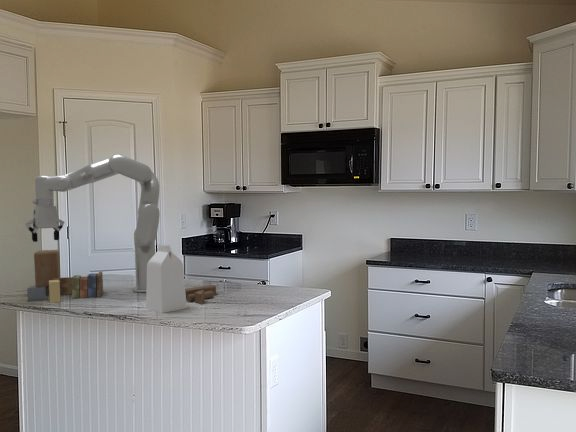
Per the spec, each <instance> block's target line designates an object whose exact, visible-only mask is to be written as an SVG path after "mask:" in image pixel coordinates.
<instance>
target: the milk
mask: <svg viewBox="0 0 576 432" xmlns="http://www.w3.org/2000/svg"><path fill="white" fill-rule="evenodd" d="M157 247H158V249H157V251H155V255H154V256H153V257H152V258H151V259H150V260H149V262H148V264H147V292H145V293H146V296H145V297H146V301H145V302H146V304H145V308H146V309H147V310H150V311H154V312H157V313H161V314H165V313H168V312H174V311H179V310H183V309H187V307H188V305H187V300H186V294H185V289H186V286H185V285H186V283H185V272H184V263H183V261H182V260H181V259H180V258H179V257H178V256H177V255H175V254H174V252H172V249H171V245H170V244H162V243H161V244H158V246H157Z"/></svg>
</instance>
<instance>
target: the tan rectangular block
mask: <svg viewBox="0 0 576 432" xmlns="http://www.w3.org/2000/svg"><path fill="white" fill-rule="evenodd" d="M49 302H50V304H55V303H60V302H61V295H60V282H59V280H49Z"/></svg>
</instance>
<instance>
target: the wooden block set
mask: <svg viewBox="0 0 576 432" xmlns="http://www.w3.org/2000/svg"><path fill="white" fill-rule="evenodd" d="M185 294H186V302H188V303H191V302H194V303H195V304H197V305H203V304H204V303H205V300H208V299H213V298H214V297H215V296H216V294H217V286H216V285H215V284H210V285H204V286H195V287H188V288H185Z"/></svg>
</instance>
